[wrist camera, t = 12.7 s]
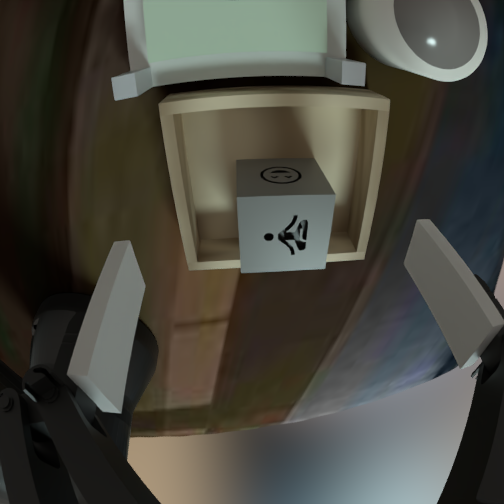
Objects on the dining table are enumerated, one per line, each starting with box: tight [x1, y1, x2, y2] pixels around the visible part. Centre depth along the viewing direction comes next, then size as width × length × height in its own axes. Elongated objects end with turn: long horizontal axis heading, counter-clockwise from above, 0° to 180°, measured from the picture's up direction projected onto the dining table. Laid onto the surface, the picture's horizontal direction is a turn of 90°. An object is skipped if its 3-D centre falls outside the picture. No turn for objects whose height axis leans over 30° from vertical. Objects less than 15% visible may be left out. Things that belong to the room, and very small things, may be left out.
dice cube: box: [236, 158, 336, 273], centre depth 19 cm, size 5×5×5 cm
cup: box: [346, 0, 487, 82], centre depth 11 cm, size 7×7×5 cm
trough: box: [158, 86, 390, 270], centre depth 19 cm, size 12×11×3 cm
